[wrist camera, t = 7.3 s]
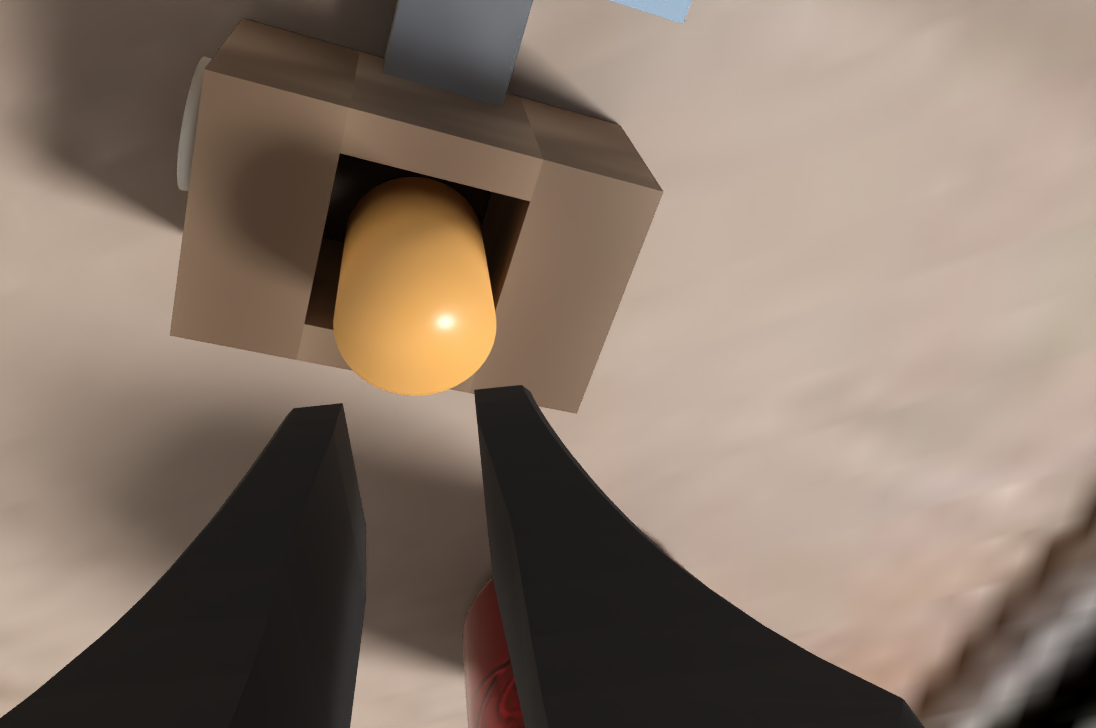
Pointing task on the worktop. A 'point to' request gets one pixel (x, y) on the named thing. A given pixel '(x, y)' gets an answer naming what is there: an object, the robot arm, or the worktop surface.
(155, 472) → the worktop surface
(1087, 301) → the worktop surface
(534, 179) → the brown wooden block
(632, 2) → the block
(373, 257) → the plunger
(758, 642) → the robot arm
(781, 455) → the worktop surface
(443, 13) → the rail
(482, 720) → the soda can
